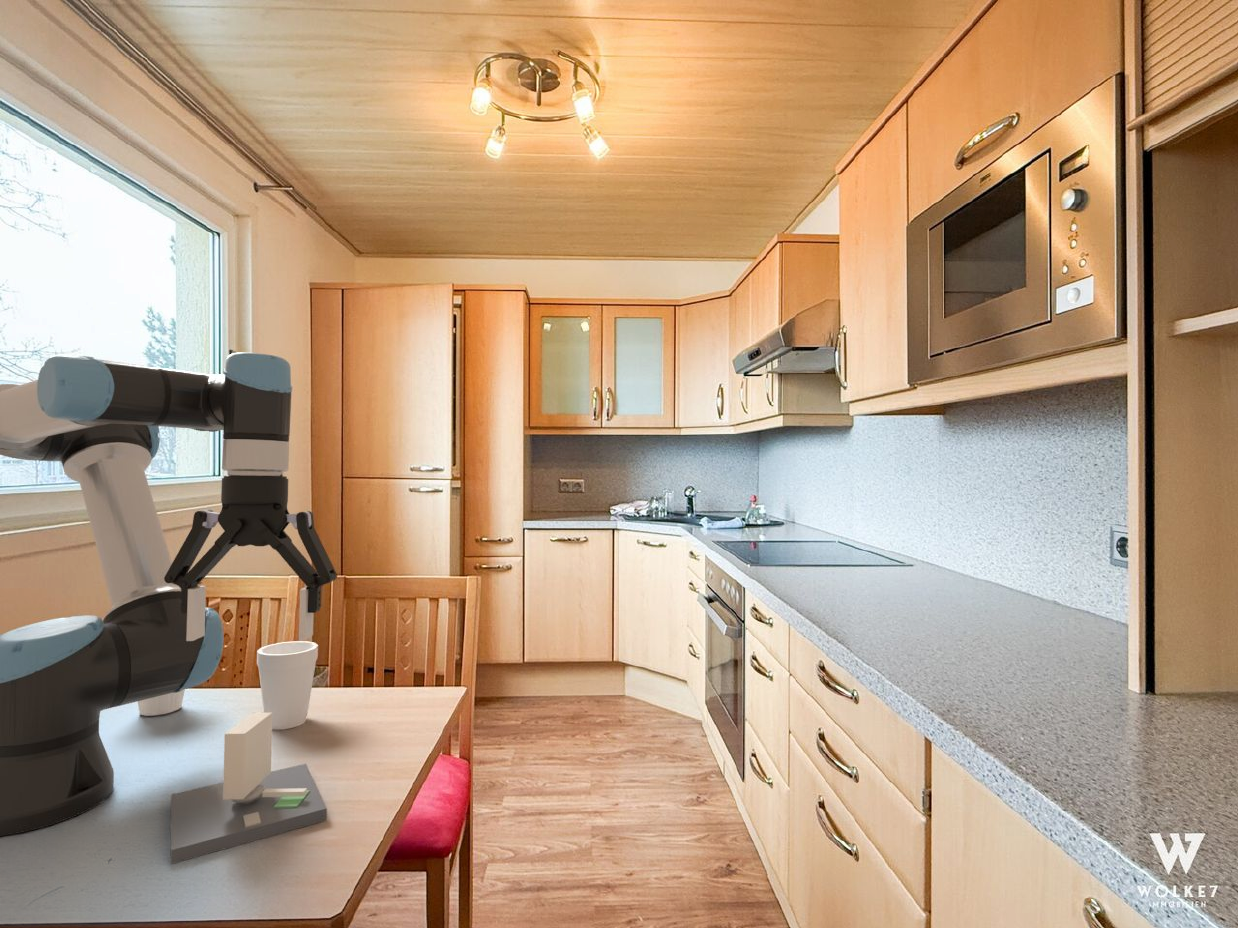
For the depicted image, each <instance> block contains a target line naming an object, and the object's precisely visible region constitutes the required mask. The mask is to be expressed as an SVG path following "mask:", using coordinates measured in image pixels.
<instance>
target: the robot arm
mask: <svg viewBox="0 0 1238 928" xmlns="http://www.w3.org/2000/svg"><path fill="white" fill-rule="evenodd" d="M222 371H223V374H209V373H208V374H206V373H201V372H199V373H198V372H192V371H185V370H177V369H170V368H163V367H162V368H161V367H155V366H146V365H141V364H133V363H126V362H118V361H112V360H104V359H98V358H95V357H93V356H86V355H84V356H83V355H82V356H73V355H62V354H61V355H60V354H57V355H53V356H51V357H49V358H47V359H46V360H45V361H44V365H43V366H41V368H40V370H39V373H38V377H37V379H36V380H32V381H29V382H26V383H23V384H14V383H13V384H11V383H10V384H9V383H3V384H0V456H3V457H7V458H11V459H16V460H24V461H37V462H38V461H39V462H61V464H62V467H63V472H64V475H66V477H67V478H69V479H70V480H72V481H74V482H77V483H79V486H80V489H81V494H82V497H83V501H84V505H85V510H86V513H87V517H88V519H89V523H90V527H91V532H92V535H93V539H94V543H95V546H96V550H97V554H98V557H99V562H100V566H101V569H102V573H103V576H104V577H103V578H104V581H105V584H106V585H105V586H106V587H107V592H108V596H109V600H110V604H111V608H110V609H109V610H108V611H107V612H106V613H105V614H104V616H103V617H102V618H101V617H100V616H97V615H91V614H87V615H82V614H81V615H74V616H70V617H65V616H64V617H60V618H53V619H48V620H43V621H38V622H35V623H31V624H27V625H24V626H20V627H17V628H13V629H12V630H9V631H7V632H4V633H2V634H0V836H7V835H8V836H9V835H13V834H19V833H23V832H24V833H26V832H29V831H32V830H37V829H42V828H44V827H47V826H51V825H54V824H57V823H60V822H63V821H66V820H68V819H70V818H74V817H75V816H77V815H80V814H82V813H85V812H86V811H89V810H90V809H93V808H95V807H96V806H97V805H100V804H101V803H102V802H103V801H105V800H106V799H107V798H108V797H109V796H110V795H111V794H112V792H113V790H114V782H115V781H114V780H115V772H114V768H113V765H112V763H111V761H110V758H109V756H108V752H107V749H106V748H105V746H104V743H103V740H102V739H101V736H100V715H101V712H102V711H104V710H107V709H112V708H115V707H116V708H117V707H121V706H124V705H128V704H132V703H138V701H141V700H145V699H149V698H153V697H157V696H161V695H165V694H169V693H177V692H180V691H182V690H184V689H185V690H186V689H190V688H193V687H197V686H199V685H201V684H204V683H206V682H207V681H208V680H209V679H211V677H212V676H213V675H214V673H215V672H216V671H217V668H218V667H219V664H220V662H221V659H222V653H223V649H224V626H223V622H222V618H221V616H220V614H219V613H218V612H217V611H216V610H215V609H214V608H211V607H206V603H207V601H206V600H207V599H206V598H207V585H201V584H203V582H202V581H203V580H204V579H205V578H206V576H208V574H209V573H210V572H211V571H212V570H213V569H214V568H215V567H216V566H217V565H218V564H219V562H220V561H221V560H222V559H223V558H224V557H225V556H226V555H227V554H228V553H229V552H230V550H231V549H232V548H234V547H235V546H237V547H246V546H254V547H267V546H270V547H271V548H272V549H273V550H275V551H276V552H277V553H278V554H279V555H280V557H281V558H283V560H284V561H285V562H286V563H287V565H288V566H289V567H290V568H291V570H292V571H293V572H294V573H295V574H296V576H297V577H298V578H299V579H300V580H301V581H302V582H303V584H304V585H305V587H302V588H301V589H299V617H298V618H299V619H298V621H299V623H298V624H299V625H298V641H306V640H308V639H309V638H311V637H313V636H314V614H316V613H318V612H319V611H321V608H322V591H323V586H324V585H327V584H329V583H331V582H334V581H335V580H337V578H338V573H337V570H336V569H335V568H334V566H333V563H332V561H331V559H330V557H329V555H328V553H327V551H326V549H325V546H324V545H323V543H322V540H321V539H320V537H319V534H318V533H317V531H316V529H315V522H314V514H313V512H312V511H310V510H309V511H308V510H307V511H300V512H297V513H290V512H289V510H288V503H289V478H287V476H285V475H284V472H288V471H289V468H290V467H289V463H290V462H289V461H290V457H289V456H290V432H291V411H292V392H293V386H292V379H291V375H292V374H291V364H290V363H289V361H287V360H286V359H285V358H283V357H280V356H277V355H272V354H268V353H257V352H234V353H231V354H229V355H228V356H227V358H226V359H225V365H224V369H223V370H222ZM160 427H167V428H181V429H191V430H195V431H198V432H210V433H212V432H213V433H214V432H219V431H223V433H222V439H223V441H222V460H221V461H222V463H221V469H222V470H223V471H227V475H223V477H222V478H221V492H220V495H221V496H220V497H221V498H220V501H221V505H222V507H221V511H220V512H214V511H213V510H211V509H205V510H197V511H195V512H194V514H193V519H192V526H191V529H190V531H189V532H188V535H187V536H186V538H185V540H184V541H183V543H182V545H181V547H180V549H179V550H178V552H177V554H176V555H175V558H174V559H173V561H172V557H171V555H170V550H169V548H168V545H167V542H166V538H165V534H164V531H163V527H162V525H161V522H160V518H159V515H158V512H157V508H156V505H155V502H154V498H153V495H152V491H151V488H150V485H149V482H148V478H147V477H146V476H147V475H146V472H145V471H146V470H147V469H148V468H149V466H151V463H152V460H153V459H154V458H155V457H156V455H157V453H158V451H159V447H160V441H161V439H160V436H159V434H160ZM217 524H218V525H220V527H221V528H222V530H223V532H222V533H221V534H220V535H219V537H218V538H217V539H216V540H215V541H214V544H213V545H212V546H211V547H210V548H209V549H208V550H207V552H205V554H204V555H203V556H202V557H201V558H200V559H199V560H198V561H197V562H196V563H195V564H194V562H195V561H196V560H197V557H198V555H199V553H200V551H201V550H202V548H203V546H204V544H205V543H206V540H207V539H208V537H209V535H210V534H211V532H212V529H213V528H215V527H216V526H217ZM289 524H292V525H291V526H293V528H294V529H295V530H297V532H298V535H299V538H300V540H301V542H302V544H303V546H304V548H305V550H306V552H307V554H308V557H309V558H310V561H311V563H312V564H311V563H310V561H308V559H307V558H306V557H305V556H304V555H303V554H302V552H301V551H300V550H299V549H298V548H297V547H296V545H295V544H294V543H293V541H292V538H291V537H290V536H289V535H288V534H287V532H286V531H285V529H286V528H287V527H288V525H289ZM193 564H194V565H193ZM313 566H314V567H313Z"/></svg>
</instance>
